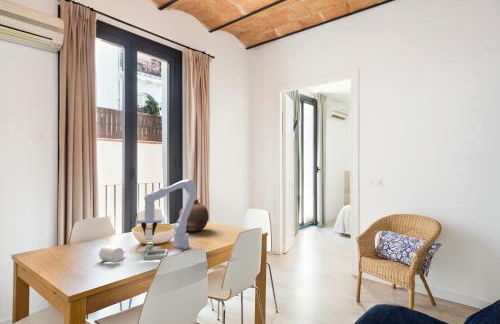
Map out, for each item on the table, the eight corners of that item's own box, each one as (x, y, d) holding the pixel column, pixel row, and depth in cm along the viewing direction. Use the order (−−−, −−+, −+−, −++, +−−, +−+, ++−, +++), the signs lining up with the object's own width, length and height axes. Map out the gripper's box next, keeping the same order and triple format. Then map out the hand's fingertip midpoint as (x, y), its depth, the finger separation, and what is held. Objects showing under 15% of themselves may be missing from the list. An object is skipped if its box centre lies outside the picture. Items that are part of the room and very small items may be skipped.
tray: (167, 253, 178) (167, 249, 178) (165, 259, 166) (165, 255, 166) (147, 253, 176) (147, 249, 176) (143, 260, 164) (143, 256, 164)
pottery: (205, 234, 223) (206, 201, 223) (175, 234, 223) (176, 201, 223) (210, 227, 246) (210, 197, 245) (182, 227, 246) (183, 197, 246)
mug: (111, 264, 157) (111, 250, 157) (98, 261, 161) (98, 247, 161) (129, 258, 168) (129, 244, 168) (117, 255, 172) (117, 241, 172)
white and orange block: (153, 237, 184) (153, 226, 184) (152, 239, 180) (152, 228, 180) (146, 238, 183) (146, 226, 183) (145, 239, 179) (145, 228, 179)
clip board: (161, 247, 188) (161, 241, 188) (159, 252, 178) (159, 246, 178) (138, 248, 186) (138, 242, 185) (135, 253, 176) (135, 246, 176)
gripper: (162, 211, 187) (162, 233, 187) (138, 212, 184) (138, 233, 184) (161, 213, 180) (160, 235, 180) (136, 214, 177) (135, 236, 177)
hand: (149, 235), depth 182 cm, fingers closed on white and orange block, 4 cm apart
